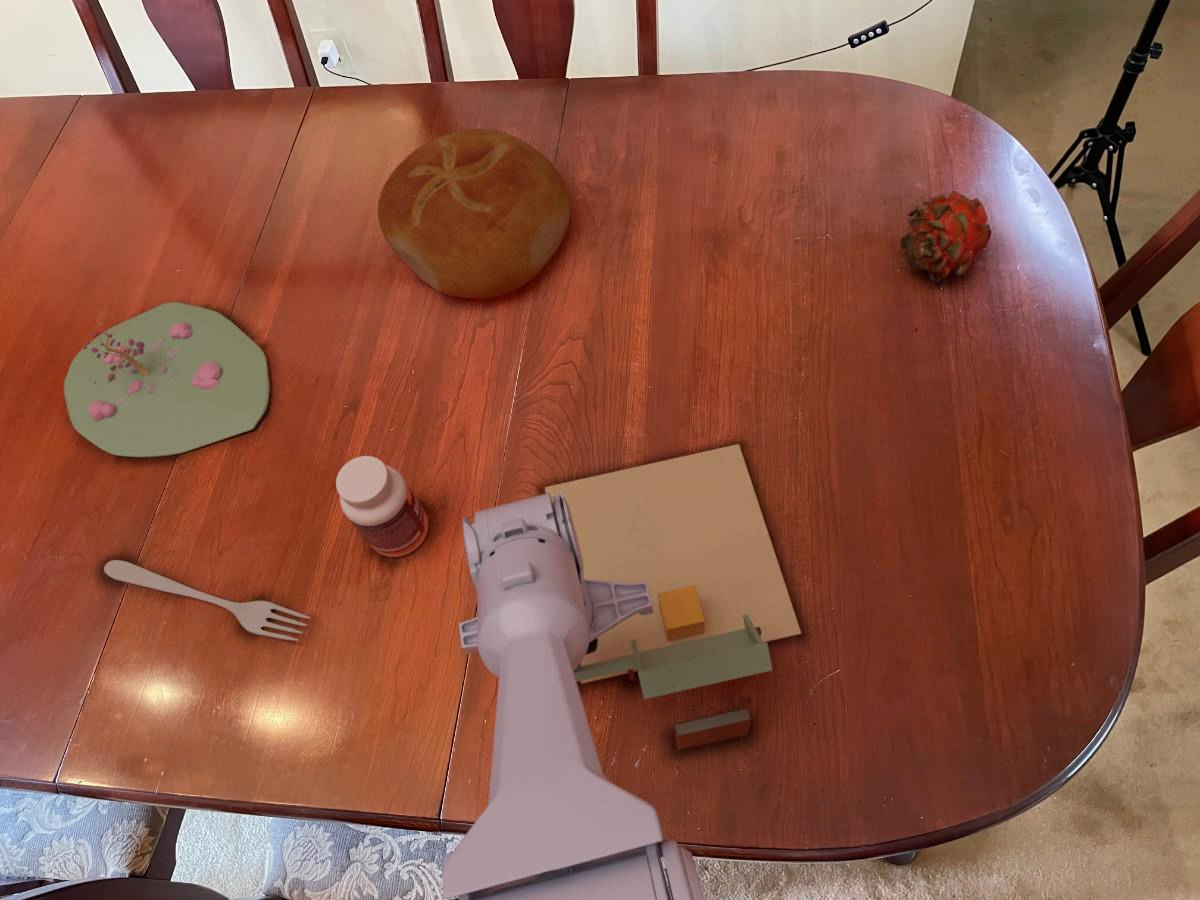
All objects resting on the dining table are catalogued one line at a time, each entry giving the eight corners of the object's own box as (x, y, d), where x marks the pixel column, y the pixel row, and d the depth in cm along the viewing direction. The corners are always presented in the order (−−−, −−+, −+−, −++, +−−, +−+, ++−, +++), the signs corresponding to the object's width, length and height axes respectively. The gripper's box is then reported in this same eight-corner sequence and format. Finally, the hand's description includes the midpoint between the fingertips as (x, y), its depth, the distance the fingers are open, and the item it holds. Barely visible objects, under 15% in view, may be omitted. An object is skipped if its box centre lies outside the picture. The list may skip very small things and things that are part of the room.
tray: (773, 673, 63) (767, 643, 62) (569, 719, 63) (562, 690, 62) (744, 621, 72) (739, 595, 72) (566, 661, 72) (560, 635, 72)
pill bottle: (442, 528, 84) (410, 477, 74) (393, 571, 82) (354, 524, 73) (404, 490, 86) (368, 435, 77) (356, 531, 85) (313, 480, 75)
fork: (114, 551, 86) (104, 544, 85) (319, 618, 80) (312, 612, 79) (96, 579, 85) (85, 573, 83) (303, 650, 79) (295, 645, 77)
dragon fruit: (911, 308, 93) (936, 243, 100) (990, 291, 87) (1012, 224, 94) (880, 246, 89) (909, 183, 96) (961, 224, 83) (986, 158, 90)
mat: (801, 634, 75) (801, 633, 75) (581, 684, 75) (581, 683, 75) (738, 445, 85) (738, 443, 85) (544, 488, 85) (544, 487, 85)
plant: (308, 317, 99) (275, 265, 91) (242, 472, 90) (198, 428, 82) (120, 301, 104) (73, 250, 96) (37, 447, 94) (-23, 403, 86)
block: (705, 621, 73) (695, 584, 75) (666, 629, 73) (657, 593, 75) (704, 633, 76) (695, 597, 78) (667, 641, 76) (658, 606, 78)
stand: (779, 727, 72) (785, 711, 66) (646, 757, 71) (642, 744, 66) (755, 647, 75) (759, 626, 70) (628, 676, 75) (623, 657, 70)
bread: (365, 305, 99) (333, 246, 91) (417, 164, 110) (393, 99, 102) (554, 318, 96) (540, 257, 87) (588, 171, 107) (579, 104, 98)
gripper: (634, 521, 61) (643, 583, 73) (439, 565, 61) (479, 620, 73) (657, 614, 58) (662, 663, 70) (450, 660, 58) (490, 701, 70)
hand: (570, 646), depth 71 cm, fingers closed, pressing on tray
